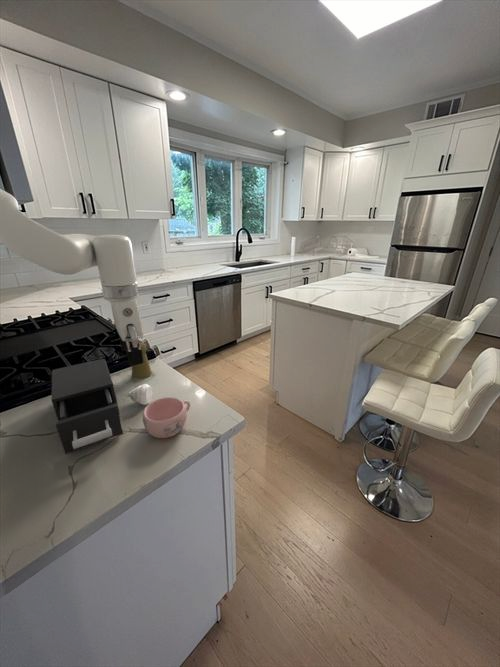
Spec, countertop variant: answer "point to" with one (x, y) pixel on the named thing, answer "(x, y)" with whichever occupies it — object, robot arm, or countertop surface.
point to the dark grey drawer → (87, 420)
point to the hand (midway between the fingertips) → (132, 356)
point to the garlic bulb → (141, 394)
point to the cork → (142, 366)
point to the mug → (165, 416)
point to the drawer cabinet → (80, 382)
